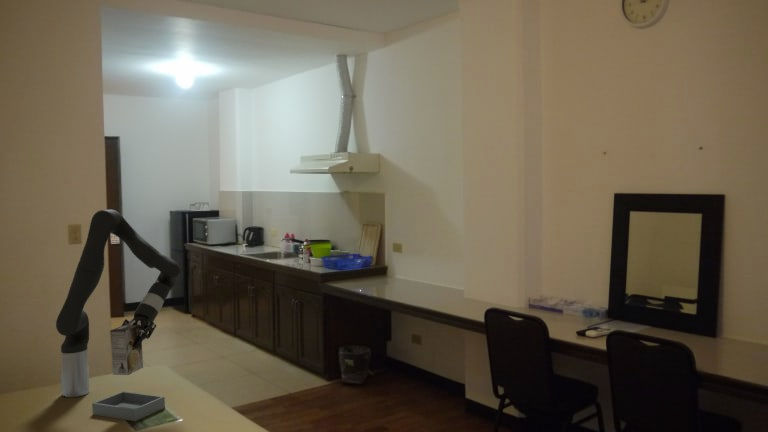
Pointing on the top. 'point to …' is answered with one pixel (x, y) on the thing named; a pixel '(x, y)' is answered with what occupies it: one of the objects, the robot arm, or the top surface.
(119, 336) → the coffee box
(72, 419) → the top surface
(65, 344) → the robot arm
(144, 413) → the tray
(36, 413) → the top surface
